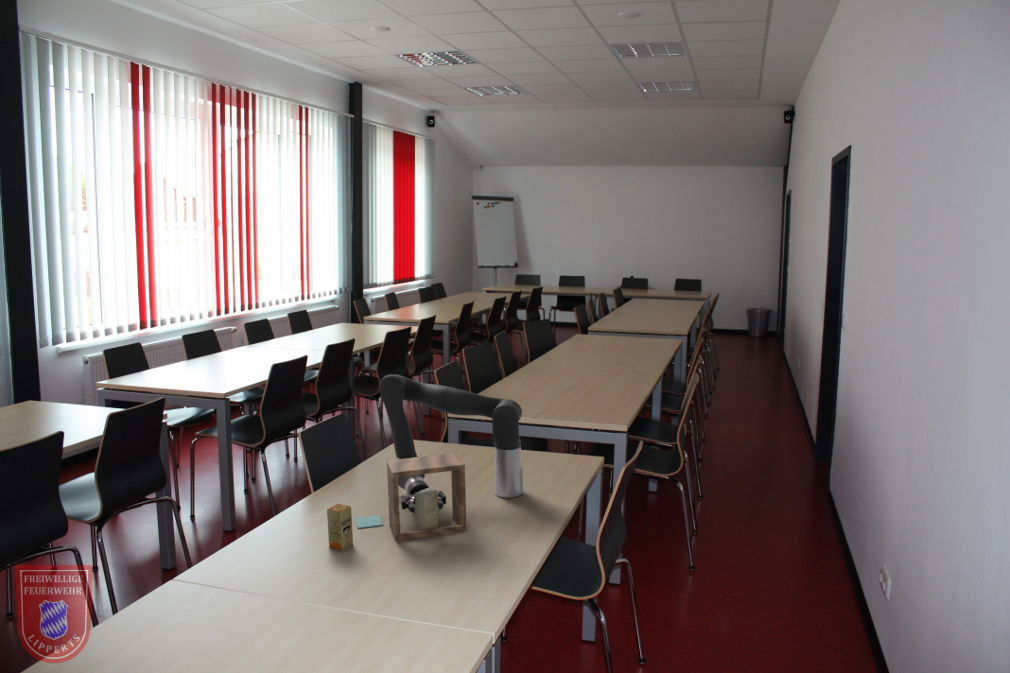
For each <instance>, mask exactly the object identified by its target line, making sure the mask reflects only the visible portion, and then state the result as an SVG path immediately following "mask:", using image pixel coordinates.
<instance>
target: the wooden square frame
mask: <svg viewBox="0 0 1010 673" xmlns="http://www.w3.org/2000/svg"><path fill="white" fill-rule="evenodd" d="M386 470H387V472H386V474H387V477H386V478H387V495H388V496H387V497H388V519H389V520H388V523H389V528H390V530H391V534H392V536H393V539H394V542H400V541H406V540H407V541H408V540H414V539H422V538H427V537H434V536H435V537H436V536H442V535H448V534H454V533H462V532H467V503H466V502H467V499H466V496H467V495H466V493H467V492H466V465H465V462H464V461H463V460H462V459H461V458H460V457H459V455H458V454H457V453H456V452H452V453H444V454H434V455H425V456H417V457H415V458H406V459H398V458H397V459H389V460H386ZM445 472H446V473H447V472H451V474H450V475H451V502H452V504H451V506H452V508H451V509H452V519H453V520H454V521H455V523H456V524H454V525H447V526H439V527H438V528H431V529H424V530H411V531H406V532H405V531H404V532H401V517H400V516H401V514H400V494H399V492H400V490H399V485H398V477H405V476H413V475H422V474H425V475H427V474H428V475H430V474H436V473H437V474H439V473H445Z"/></svg>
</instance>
